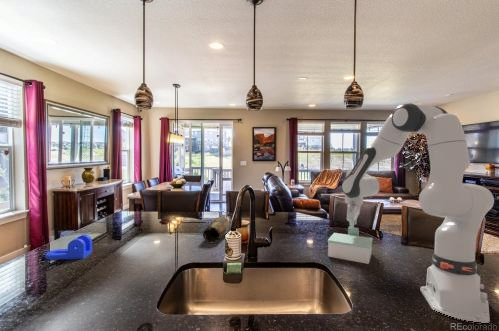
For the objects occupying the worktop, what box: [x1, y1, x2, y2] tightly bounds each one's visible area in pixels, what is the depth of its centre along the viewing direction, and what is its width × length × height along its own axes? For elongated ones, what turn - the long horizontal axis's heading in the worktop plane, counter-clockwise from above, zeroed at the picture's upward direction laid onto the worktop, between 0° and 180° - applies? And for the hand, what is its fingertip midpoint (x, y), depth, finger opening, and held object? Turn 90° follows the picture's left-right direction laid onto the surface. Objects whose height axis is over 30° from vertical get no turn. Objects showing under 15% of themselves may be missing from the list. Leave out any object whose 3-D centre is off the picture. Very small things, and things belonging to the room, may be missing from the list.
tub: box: [327, 241, 373, 265], centre depth 132 cm, size 14×18×7 cm
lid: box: [327, 226, 373, 249], centre depth 133 cm, size 18×19×5 cm
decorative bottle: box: [202, 213, 234, 245], centre depth 169 cm, size 11×11×45 cm
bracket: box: [45, 234, 93, 261], centre depth 128 cm, size 18×8×9 cm, turn 96°
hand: (353, 226), depth 140 cm, fingers open, 8 cm apart
